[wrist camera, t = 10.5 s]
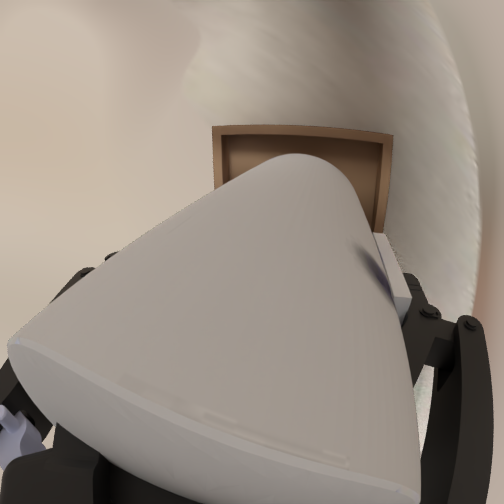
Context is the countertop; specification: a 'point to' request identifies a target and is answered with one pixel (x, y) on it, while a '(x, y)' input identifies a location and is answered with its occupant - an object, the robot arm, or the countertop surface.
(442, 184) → the countertop surface
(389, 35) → the countertop surface
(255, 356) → the container
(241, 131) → the stand
